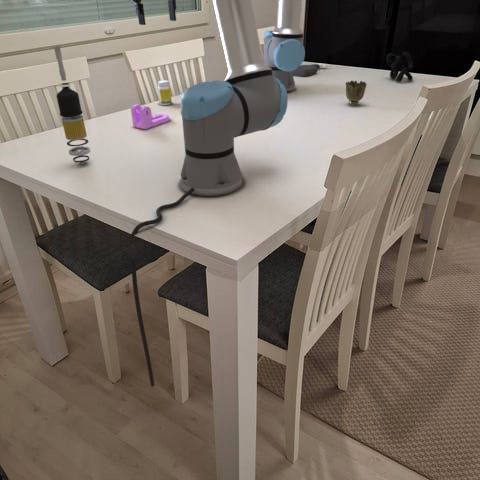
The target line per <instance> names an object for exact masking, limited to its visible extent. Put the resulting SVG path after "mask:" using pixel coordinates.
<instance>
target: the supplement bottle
mask: <svg viewBox="0 0 480 480" xmlns="http://www.w3.org/2000/svg"><path fill="white" fill-rule="evenodd" d="M157 86H158V87H157V96H158V104H159V105H160V106H169V105H171V104H172V102H173V101H172V94H171V87H170V83H169V80H163V79H162V80H159V81H157Z"/></svg>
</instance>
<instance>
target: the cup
mask: <svg viewBox="0 0 480 480" xmlns="http://www.w3.org/2000/svg"><path fill="white" fill-rule="evenodd" d="M366 88H367V82H366V81H362V80H360V81H359V82H358V81H357V80H350V81H349V80H348V81H346V82H345V97H346V99H347V100H348V104H349V105H350V106H358V105H359V104H360V101H362V99H363V98H364V96H365V92H366Z"/></svg>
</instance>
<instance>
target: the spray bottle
mask: <svg viewBox="0 0 480 480" xmlns="http://www.w3.org/2000/svg"><path fill="white" fill-rule="evenodd" d="M330 67H331V64H327V63H320V62H319V63H318V62H317V63H313V64H312V63H311V64H301V65H300V66H299V67H298V68H297V69H295V70H293V71H292V74H293V76H297V77H305V78H306V77H309V76H312V75H315V74H317V73H318V70H319V69H320V68H330Z"/></svg>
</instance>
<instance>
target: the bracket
mask: <svg viewBox="0 0 480 480" xmlns="http://www.w3.org/2000/svg"><path fill="white" fill-rule="evenodd" d="M130 113H131V120H132V127H134V128H138V129H142V130H147V129H150V128H153V127H155V126H158V125H161V124H164V123H167V122H169V121H170V116H169V114H167V113H157V114H153V115H152V109H151V108H150V106H146V105H140V104H138V103H137V104H136V103H134V104H133V105H132V106H131V108H130Z"/></svg>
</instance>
